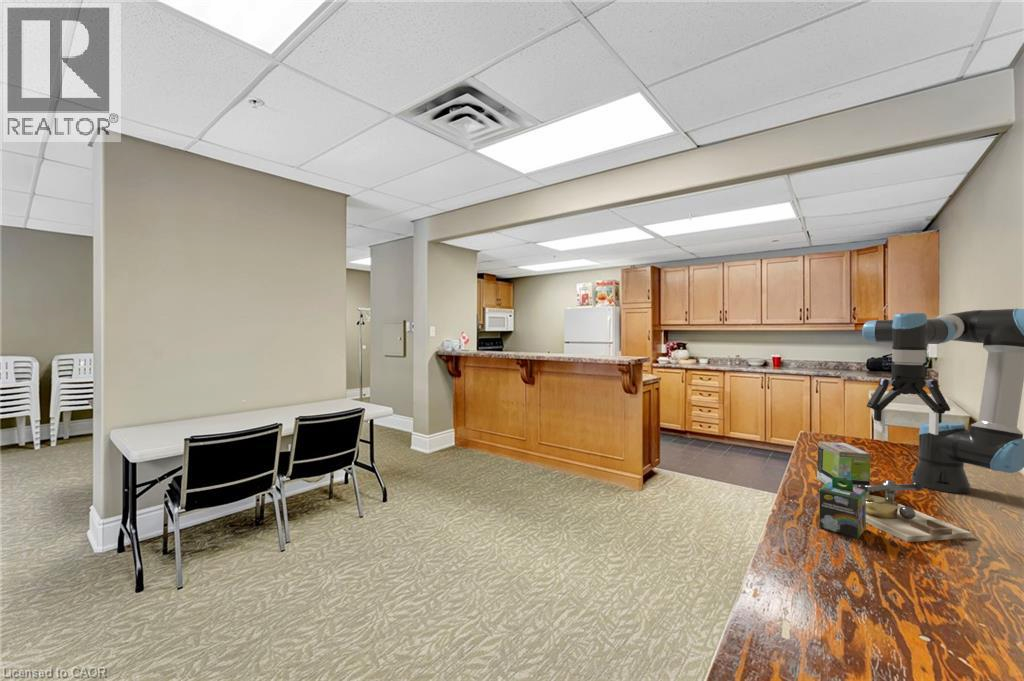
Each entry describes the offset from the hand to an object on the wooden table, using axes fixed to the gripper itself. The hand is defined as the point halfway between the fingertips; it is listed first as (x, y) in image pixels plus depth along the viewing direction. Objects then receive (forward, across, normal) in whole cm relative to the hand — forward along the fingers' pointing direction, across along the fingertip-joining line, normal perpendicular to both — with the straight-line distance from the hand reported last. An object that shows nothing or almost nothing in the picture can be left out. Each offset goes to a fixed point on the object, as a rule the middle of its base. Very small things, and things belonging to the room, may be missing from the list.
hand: (906, 432), depth 130 cm
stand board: (+25, +5, +8) cm, 27 cm away
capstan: (+23, +6, +3) cm, 24 cm away
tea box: (+26, +7, -22) cm, 34 cm away
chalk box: (+25, +24, +15) cm, 38 cm away
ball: (+23, +4, +8) cm, 25 cm away
